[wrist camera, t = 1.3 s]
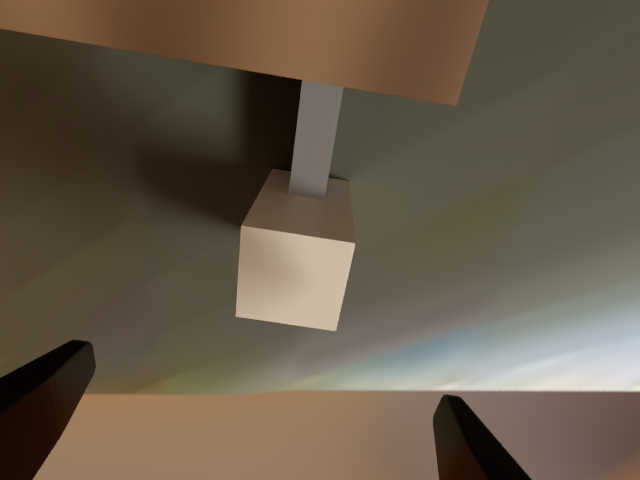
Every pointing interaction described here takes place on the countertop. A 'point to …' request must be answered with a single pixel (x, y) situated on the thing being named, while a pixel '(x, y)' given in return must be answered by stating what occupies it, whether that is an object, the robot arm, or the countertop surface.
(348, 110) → the countertop surface
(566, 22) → the countertop surface
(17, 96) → the countertop surface
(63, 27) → the brown wooden slab
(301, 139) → the cube on a stick
